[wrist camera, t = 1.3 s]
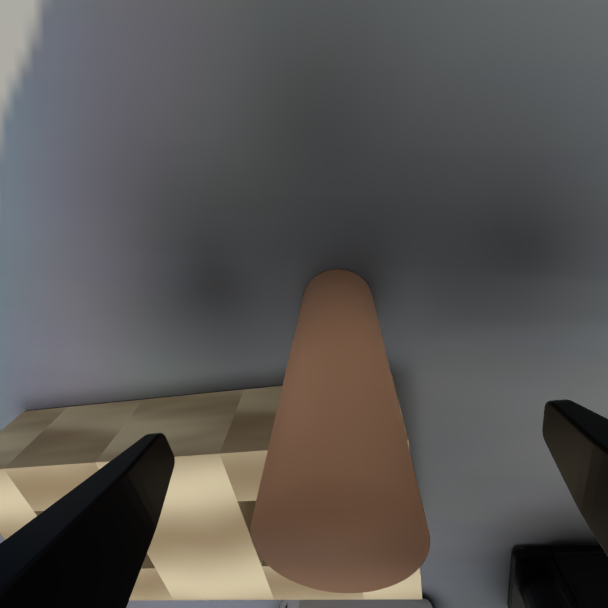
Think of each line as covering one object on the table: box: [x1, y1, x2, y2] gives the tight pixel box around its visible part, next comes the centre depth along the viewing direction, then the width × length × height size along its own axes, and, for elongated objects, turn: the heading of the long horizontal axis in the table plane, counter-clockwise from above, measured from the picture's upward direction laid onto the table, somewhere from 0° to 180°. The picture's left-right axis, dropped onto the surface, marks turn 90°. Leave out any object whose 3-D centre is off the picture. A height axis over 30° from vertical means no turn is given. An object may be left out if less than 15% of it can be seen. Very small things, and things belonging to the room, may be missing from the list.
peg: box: [250, 269, 430, 593], centre depth 10 cm, size 3×3×10 cm
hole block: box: [0, 375, 422, 600], centre depth 18 cm, size 10×20×4 cm, turn 101°
